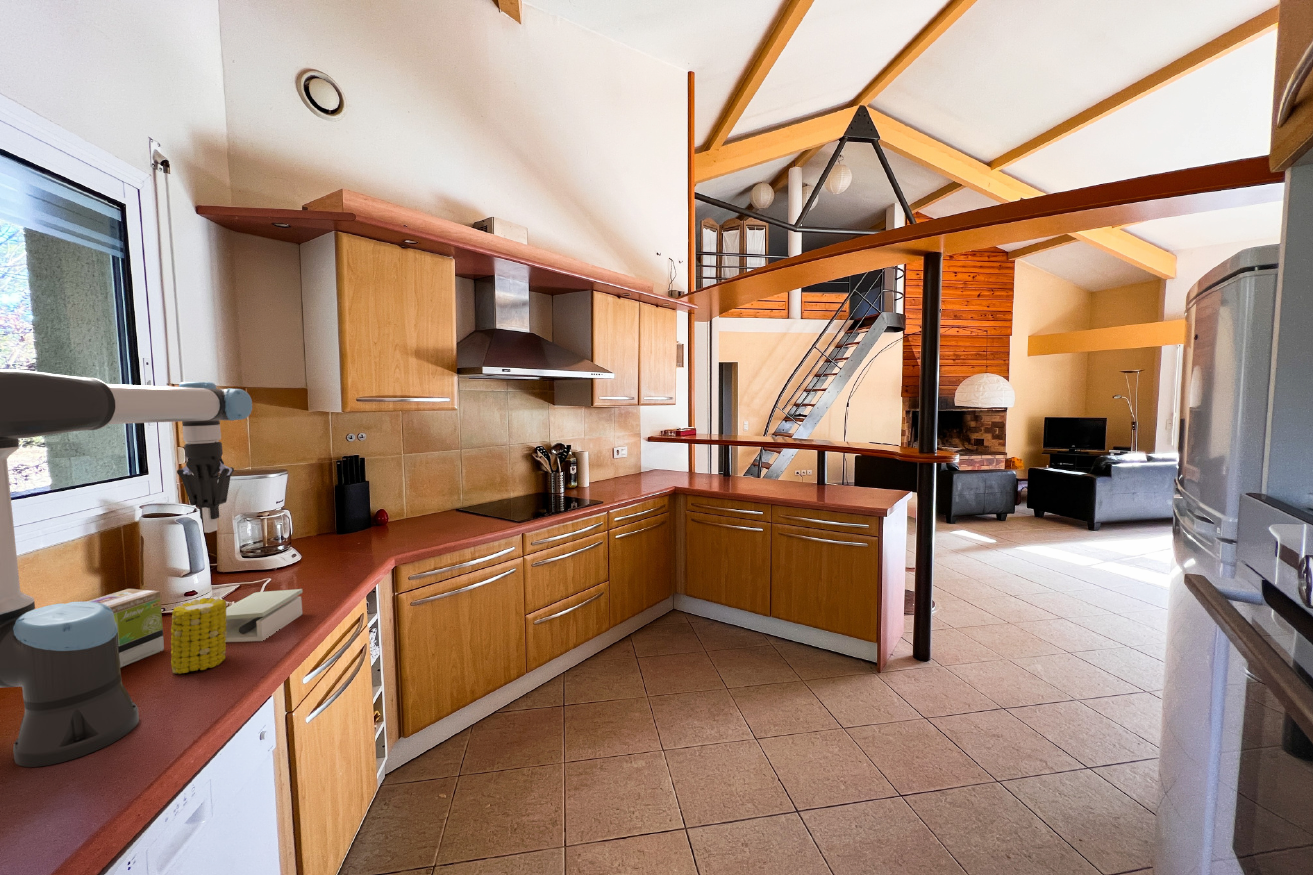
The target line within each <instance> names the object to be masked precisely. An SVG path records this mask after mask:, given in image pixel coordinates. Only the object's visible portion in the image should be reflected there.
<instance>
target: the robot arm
mask: <svg viewBox="0 0 1313 875" xmlns="http://www.w3.org/2000/svg"><path fill="white" fill-rule="evenodd" d="M252 410H253V401H252V398H251V396H250V394H249V393H248V392H247V391H245V390H244V389H241V388H230V387H229V388H218V387H217V385H216V384H215V383H214V382H212V381H205V382H204V381H182V382H180V383H179V384H178V386H162V385H161V386H160V385H159V386H158V385H156V386H155V385H136V384H134V385H133V384H119V383H118V384H114V383H113V384H112V383H105V382H104V381H102V380H101V379H98V378H96V377H95V378H94V377H85V376H83V377H81V376H72V375H64V374H54V373H50V372H49V373H48V372H41V371H32V370H26V369H23V370H22V369H0V688H19V687H20V688H21V689H22V697H23V698H22V699H23V704H24V713H23V717H22V719H21V723H20V728H19V732H18V737H17V738H16V740H14V744H13V746H12V747H13V749H12V752H13V758H14V760H13V761H14V763H15V764H16V765H18V766H20V767H26V768H27V767H28V768H34V767H36V768H37V767H45V766H50V765H51V766H52V765H56V764H61V763H65V762H67V761H71V760H75V759H78V758H80V757H83V756H86V755H88V754H91V753H93V752H94V753H95V752H96V751H99V750H101V749H103V748H105V747H108V746H110V745H111V744H114V743H115V742H117V741H119V740H120V739H121V738H124V737H125V736H126V735H128V734H129V733H130V732H131V731H133V730H135V728H136V727H137V725H138V724H139V722H140V716H139V715H140V714H139V708H138V705H137V704H136V703H135V702H133V699H132V697H131V695H130V694H129V692H128V691H127V688H126V686H124V684H123V682H122V681H123V680H122V673H121V668H120V659H119V647H118V634H117V624H116V622H115V619H114V614H113V611H112V609H111V608H110V607H108V606H106V605H104V604H101V603H97V602H86V601H70V602H68V603H62V602H61V603H56V604H50V605H46V606H41V607H37V608H36V606H35V605H36V604H35V598H34V597H33V596H31V595H28V594H26V593H23V592H22V591H21V585H20V584H21V583H20V575H19V565H18V564H19V563H18V557H17V556H18V555H17V554H18V553H17V546H16V536H15V528H14V525H15V524H14V518H13V507H12V506H13V505H12V497H11V487H10V486H11V485H10V476H9V467H8V459H9V457H10V456H11V455H12V454H14V453H15V452H16V451H17V450H18V449H20V444H19V442H20V440H19V439H27V438H28V439H30V438H36V437H43V436H50V435H59V434H65V433H72V432H83V431H84V432H85V431H95V430H99V429H103V428H105V427H106V426H108V425H119V424H121V425H122V424H145V423H147V424H149V423H150V424H151V423H153V424H154V423H173V422H174V423H178V422H180V423H181V424H182V436H183V438H182V439H183V441H184V442H185V444H184V446H183V447H184V454H185V455H184V456H185V458H186V459H187V461H186V463H185V466H184V467H183V468H180V469H177V470H176V474H178V476H179V478H181V482H182V484H183V486H184V489H185V492H186V495H187V498H188V500H189V505H191V506H195V507H198V508H199V518H200V520H202V523H203V533H208V534H209V533H213V532H216V531H218V529H219V528H218V527H219V526H218V525H219V524H218V519H219V518H220V509H219V508H220V505H223V504H225V503H227V501H228V494H229V489H230V483H231V476H232V474H233V473H234V472H235V468H234V467H231V466H230V467H229V466H227V465H225V463H224V461H223V459H222V455H223V453H224V452H223V443H222V442H221V441H220V440H222V431H221V421H232V422H233V421H241V420H245V419H247V418H248V417H249V416H250V415H251V413H252Z"/></svg>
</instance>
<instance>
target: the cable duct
mask: <svg viewBox="0 0 1313 875" xmlns="http://www.w3.org/2000/svg"><path fill="white" fill-rule="evenodd" d="M302 615H303V602H302V596H299V595H298V596H296V597H294V598H293V599H291V600H290V601H288V602H286V603H285V604H283V605H281V606H280V607H278V608H277V609H276V610H274V611H272V612H271V613H269V614H267V615H266V616H264V617H263V618H261V619H259V620H258V621H256V624H257V627H255V628H253V629H252V630H250V631H249V632H247V633H245V634H241V633H240V632H239V628H240V627H241V626H243V625H245V624H246V623H248V622H250V621H251V620H253V619H255V618H256V617H254V618H240V619H227V620H226V632H227V635H225V636H226V641H225V643H238V642H239V643H240V642H241V643H243V642H244V643H245V642H246V643H247V642H264V641H265V640H266V638H267V639H268V638H269V636H270V637H271V636H272V635H274V634H275V633H277V632H278V631H280V630H282V629H283V628H285V627H286V626H287V625H288V624H290V623H292V622H293V621H294V620H296V619H298V618H299V617H301V616H302ZM279 629H280V630H279ZM276 631H277V632H276ZM263 640H264V641H263Z"/></svg>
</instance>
